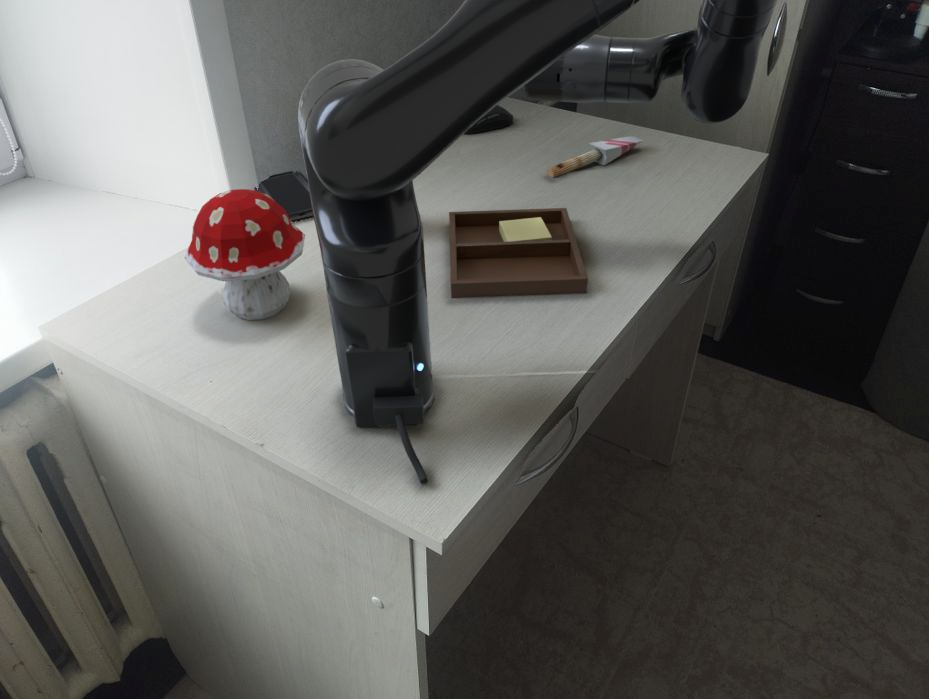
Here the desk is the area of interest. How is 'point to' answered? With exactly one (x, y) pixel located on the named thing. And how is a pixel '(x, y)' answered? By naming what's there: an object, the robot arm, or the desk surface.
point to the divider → (513, 249)
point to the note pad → (524, 230)
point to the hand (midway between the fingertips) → (434, 62)
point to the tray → (513, 271)
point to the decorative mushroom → (246, 250)
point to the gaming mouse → (492, 120)
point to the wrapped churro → (596, 154)
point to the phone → (289, 193)
